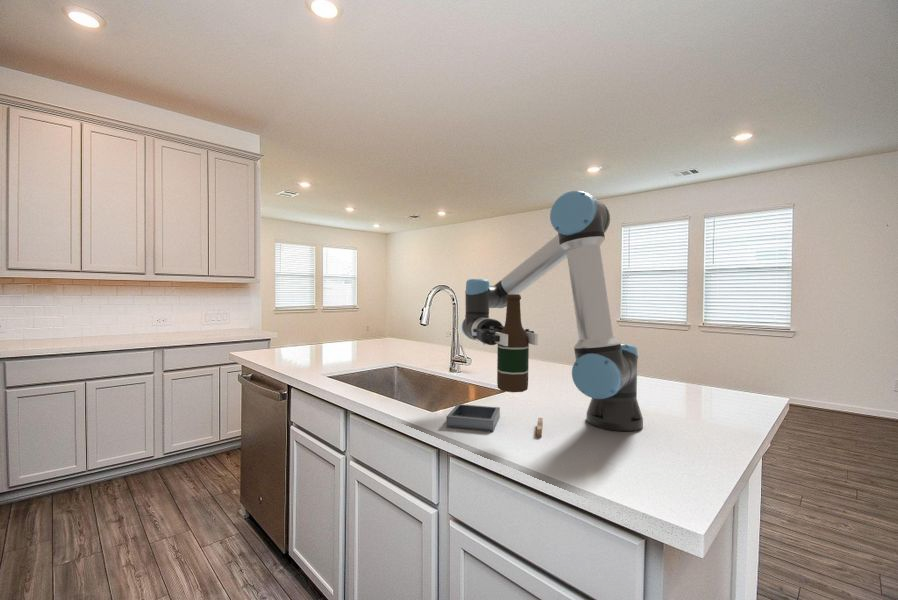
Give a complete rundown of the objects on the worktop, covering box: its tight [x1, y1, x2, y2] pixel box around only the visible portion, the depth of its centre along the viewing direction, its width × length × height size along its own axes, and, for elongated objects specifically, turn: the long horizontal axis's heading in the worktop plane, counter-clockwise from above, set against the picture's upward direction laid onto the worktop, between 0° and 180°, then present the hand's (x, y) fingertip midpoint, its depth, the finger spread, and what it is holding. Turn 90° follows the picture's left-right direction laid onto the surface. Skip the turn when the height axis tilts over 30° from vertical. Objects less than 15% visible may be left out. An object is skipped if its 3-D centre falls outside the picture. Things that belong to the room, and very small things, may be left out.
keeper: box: [445, 403, 501, 433], centre depth 116 cm, size 13×13×3 cm
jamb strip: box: [536, 417, 544, 438], centre depth 109 cm, size 10×1×2 cm, turn 165°
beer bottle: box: [496, 294, 530, 393], centre depth 102 cm, size 8×8×24 cm
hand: (521, 339), depth 97 cm, fingers closed on beer bottle, 7 cm apart
